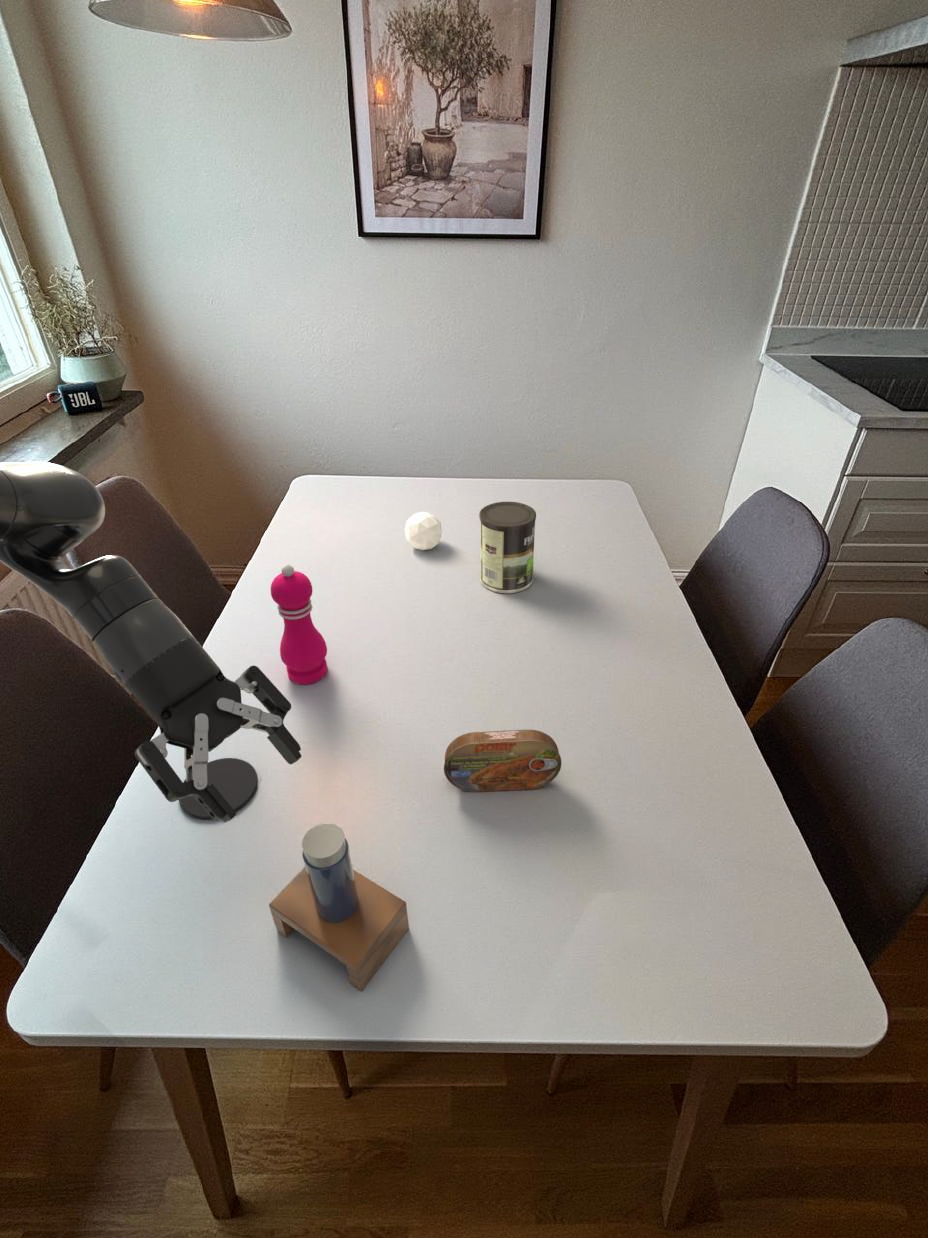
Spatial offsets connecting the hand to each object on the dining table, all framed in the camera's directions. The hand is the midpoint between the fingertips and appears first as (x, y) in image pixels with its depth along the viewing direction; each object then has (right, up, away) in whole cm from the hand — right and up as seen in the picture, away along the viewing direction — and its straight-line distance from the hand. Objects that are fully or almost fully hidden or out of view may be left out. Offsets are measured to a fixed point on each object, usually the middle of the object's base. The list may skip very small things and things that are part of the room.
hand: (265, 788), depth 66 cm
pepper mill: (-6, +8, +43) cm, 44 cm away
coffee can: (+28, +24, +65) cm, 75 cm away
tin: (+24, -5, +24) cm, 35 cm away
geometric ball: (+11, +31, +76) cm, 83 cm away
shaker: (+6, -13, +5) cm, 15 cm away
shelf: (+6, -17, +8) cm, 20 cm away
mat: (-13, -6, +24) cm, 28 cm away
